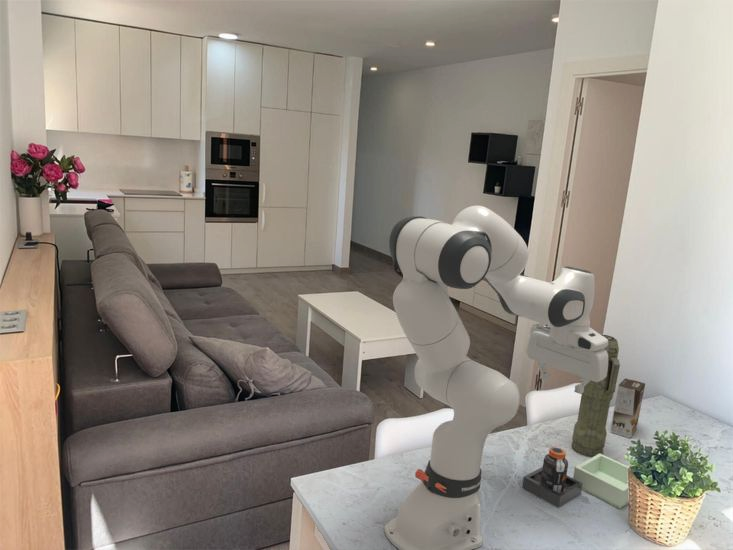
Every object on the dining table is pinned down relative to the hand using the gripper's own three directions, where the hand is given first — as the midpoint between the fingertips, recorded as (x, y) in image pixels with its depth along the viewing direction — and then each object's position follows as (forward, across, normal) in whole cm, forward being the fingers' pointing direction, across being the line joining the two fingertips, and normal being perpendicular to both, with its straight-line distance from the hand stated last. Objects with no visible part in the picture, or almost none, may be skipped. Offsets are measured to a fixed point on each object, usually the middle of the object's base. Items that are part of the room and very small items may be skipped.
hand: (561, 385), depth 142 cm
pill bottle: (+28, +2, 0) cm, 28 cm away
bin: (+28, +10, +14) cm, 33 cm away
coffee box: (+29, -4, +52) cm, 60 cm away
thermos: (+29, -4, +29) cm, 41 cm away
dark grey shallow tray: (+28, +2, 0) cm, 28 cm away
